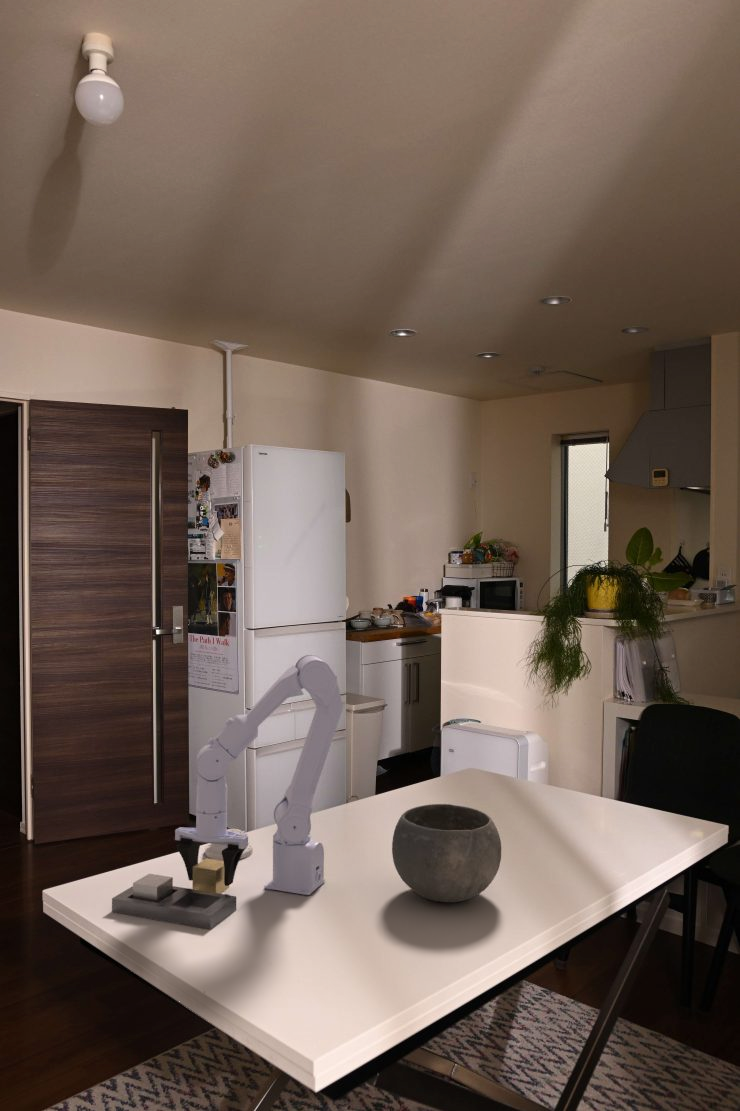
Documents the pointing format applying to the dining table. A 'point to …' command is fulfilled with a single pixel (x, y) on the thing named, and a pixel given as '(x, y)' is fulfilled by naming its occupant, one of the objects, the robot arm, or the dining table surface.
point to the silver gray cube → (153, 888)
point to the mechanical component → (216, 850)
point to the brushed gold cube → (209, 876)
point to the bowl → (446, 851)
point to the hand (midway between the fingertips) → (210, 881)
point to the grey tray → (179, 907)
